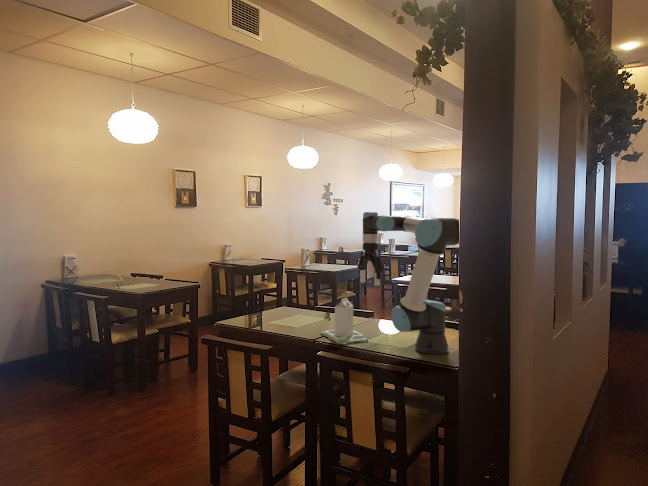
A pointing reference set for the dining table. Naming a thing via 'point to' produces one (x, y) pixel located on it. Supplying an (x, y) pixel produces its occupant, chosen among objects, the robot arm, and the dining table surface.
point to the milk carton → (344, 318)
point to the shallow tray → (340, 340)
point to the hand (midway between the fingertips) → (369, 284)
